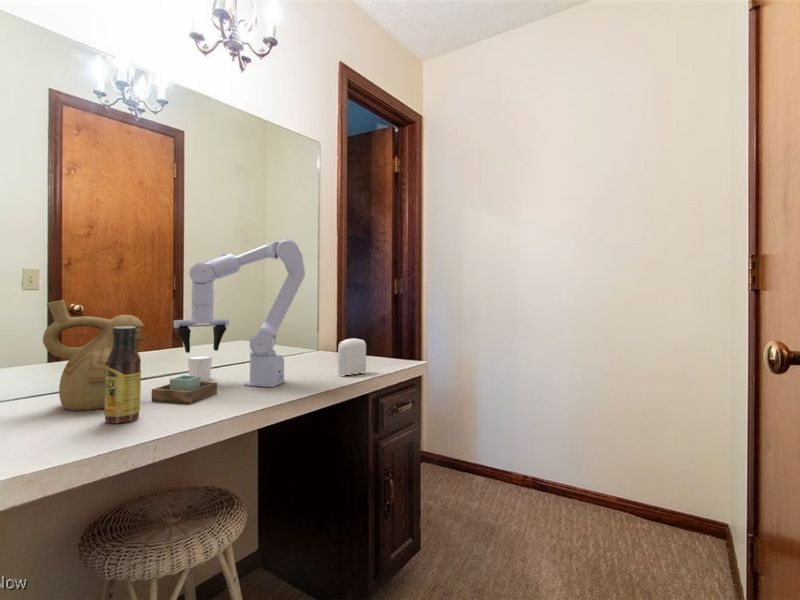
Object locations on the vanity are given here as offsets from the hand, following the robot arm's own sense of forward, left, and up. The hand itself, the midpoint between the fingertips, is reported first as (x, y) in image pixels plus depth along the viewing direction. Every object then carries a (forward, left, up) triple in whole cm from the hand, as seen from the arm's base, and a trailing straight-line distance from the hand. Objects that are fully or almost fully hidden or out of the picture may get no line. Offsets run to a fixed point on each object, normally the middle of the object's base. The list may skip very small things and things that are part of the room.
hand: (202, 351), depth 116 cm
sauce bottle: (-5, +32, -10) cm, 34 cm away
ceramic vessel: (+11, +23, -10) cm, 27 cm away
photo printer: (-38, -26, -10) cm, 47 cm away
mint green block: (-5, +13, -9) cm, 17 cm away
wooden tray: (-5, +13, -10) cm, 17 cm away
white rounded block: (+5, -6, -10) cm, 13 cm away
